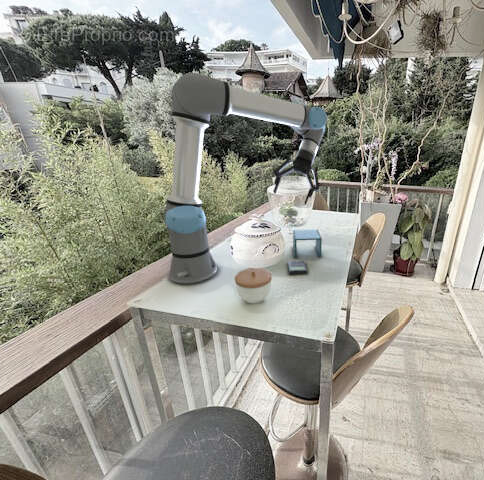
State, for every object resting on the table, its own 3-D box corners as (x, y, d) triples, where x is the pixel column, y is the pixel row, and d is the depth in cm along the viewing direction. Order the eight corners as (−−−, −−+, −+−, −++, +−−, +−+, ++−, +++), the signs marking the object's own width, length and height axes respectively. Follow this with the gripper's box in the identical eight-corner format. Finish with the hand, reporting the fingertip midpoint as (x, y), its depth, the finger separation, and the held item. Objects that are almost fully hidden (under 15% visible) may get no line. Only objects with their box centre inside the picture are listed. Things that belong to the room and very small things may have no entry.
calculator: (288, 264, 105) (288, 260, 104) (304, 263, 106) (304, 260, 105) (289, 274, 97) (289, 270, 96) (306, 273, 98) (306, 270, 97)
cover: (293, 247, 120) (293, 230, 117) (316, 247, 122) (317, 229, 119) (294, 258, 110) (294, 238, 107) (320, 257, 112) (321, 238, 109)
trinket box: (252, 312, 75) (250, 284, 72) (229, 298, 81) (226, 271, 78) (279, 296, 83) (278, 270, 80) (256, 285, 89) (255, 259, 86)
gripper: (332, 167, 119) (317, 210, 115) (279, 147, 117) (262, 190, 114) (335, 159, 111) (318, 205, 108) (279, 138, 110) (260, 184, 106)
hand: (289, 198), depth 111 cm, fingers open, 13 cm apart
